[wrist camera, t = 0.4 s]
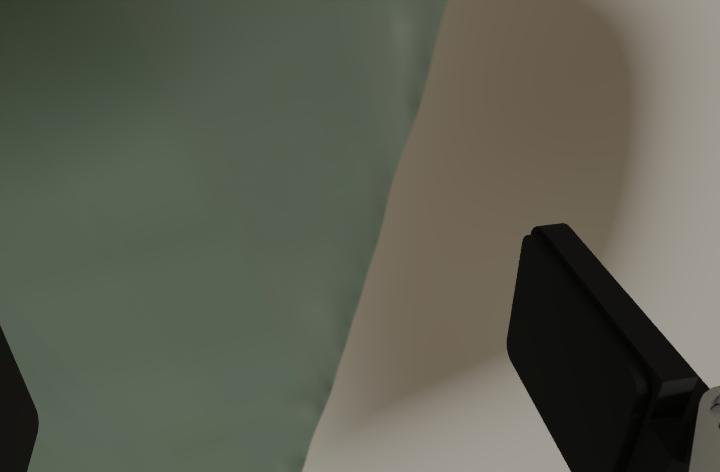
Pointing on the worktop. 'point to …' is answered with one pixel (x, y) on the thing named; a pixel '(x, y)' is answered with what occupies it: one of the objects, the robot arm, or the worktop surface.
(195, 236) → the worktop surface
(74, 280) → the worktop surface
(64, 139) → the worktop surface
